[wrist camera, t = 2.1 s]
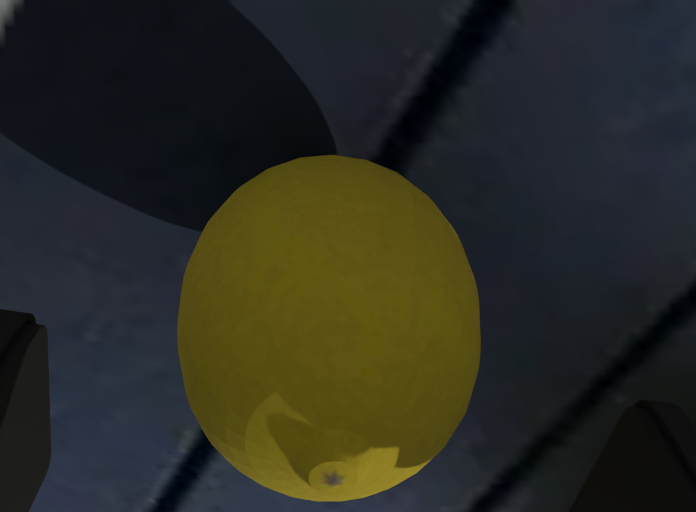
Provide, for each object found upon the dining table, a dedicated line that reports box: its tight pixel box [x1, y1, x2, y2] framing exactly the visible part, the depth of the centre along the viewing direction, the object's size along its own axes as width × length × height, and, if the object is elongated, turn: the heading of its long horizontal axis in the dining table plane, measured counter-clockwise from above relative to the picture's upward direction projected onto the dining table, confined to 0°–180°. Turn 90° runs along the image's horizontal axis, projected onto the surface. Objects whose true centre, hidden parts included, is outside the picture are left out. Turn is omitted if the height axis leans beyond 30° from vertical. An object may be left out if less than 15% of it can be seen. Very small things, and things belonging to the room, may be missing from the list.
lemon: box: [177, 155, 481, 501], centre depth 12 cm, size 6×6×8 cm
